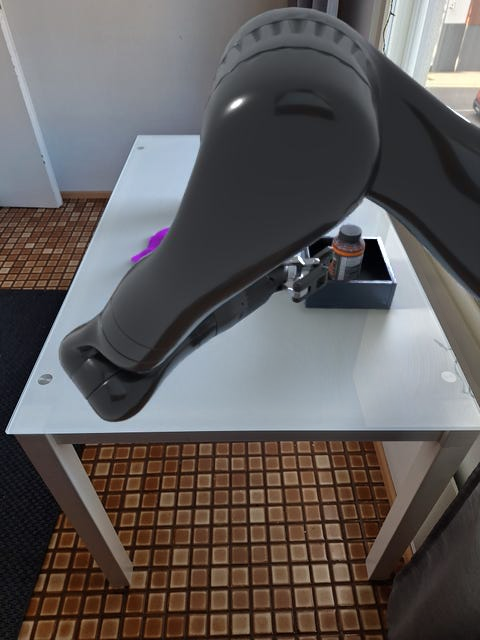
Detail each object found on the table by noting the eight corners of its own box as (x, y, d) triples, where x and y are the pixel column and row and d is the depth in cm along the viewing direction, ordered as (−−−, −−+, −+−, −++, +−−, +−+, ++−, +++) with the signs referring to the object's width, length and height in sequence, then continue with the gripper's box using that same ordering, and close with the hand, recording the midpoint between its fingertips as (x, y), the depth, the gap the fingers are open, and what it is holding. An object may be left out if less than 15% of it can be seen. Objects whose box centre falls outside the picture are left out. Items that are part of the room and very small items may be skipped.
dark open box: (374, 261, 99) (380, 236, 95) (390, 309, 87) (397, 283, 83) (299, 260, 99) (302, 235, 95) (305, 308, 88) (308, 282, 84)
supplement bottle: (323, 271, 95) (330, 221, 87) (352, 269, 95) (361, 219, 88) (331, 290, 90) (339, 238, 83) (361, 287, 91) (372, 236, 83)
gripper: (269, 295, 51) (353, 236, 59) (180, 246, 58) (267, 200, 67) (267, 345, 56) (345, 284, 64) (186, 294, 63) (265, 245, 72)
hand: (305, 241), depth 66 cm, fingers open, 8 cm apart
